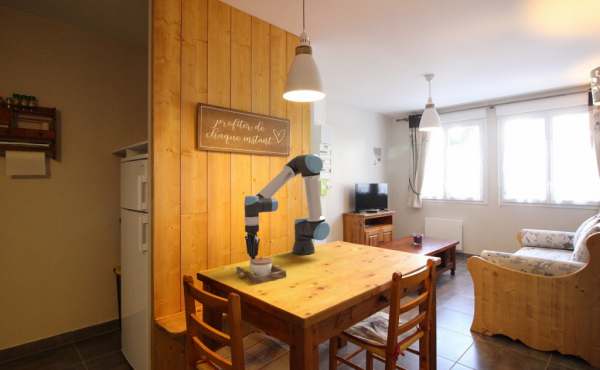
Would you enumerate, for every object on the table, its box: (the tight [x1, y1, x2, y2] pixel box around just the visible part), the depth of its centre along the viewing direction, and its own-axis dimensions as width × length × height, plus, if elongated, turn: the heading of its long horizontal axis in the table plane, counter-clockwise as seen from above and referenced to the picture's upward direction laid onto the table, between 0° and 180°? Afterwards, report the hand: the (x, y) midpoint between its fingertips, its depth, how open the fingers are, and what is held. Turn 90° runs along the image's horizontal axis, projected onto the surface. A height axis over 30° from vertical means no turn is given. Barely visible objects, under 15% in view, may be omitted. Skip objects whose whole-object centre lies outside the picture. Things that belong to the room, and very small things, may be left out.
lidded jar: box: [251, 256, 273, 276], centre depth 152 cm, size 11×11×9 cm
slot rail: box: [235, 264, 287, 285], centre depth 153 cm, size 22×22×3 cm
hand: (252, 268), depth 160 cm, fingers closed
